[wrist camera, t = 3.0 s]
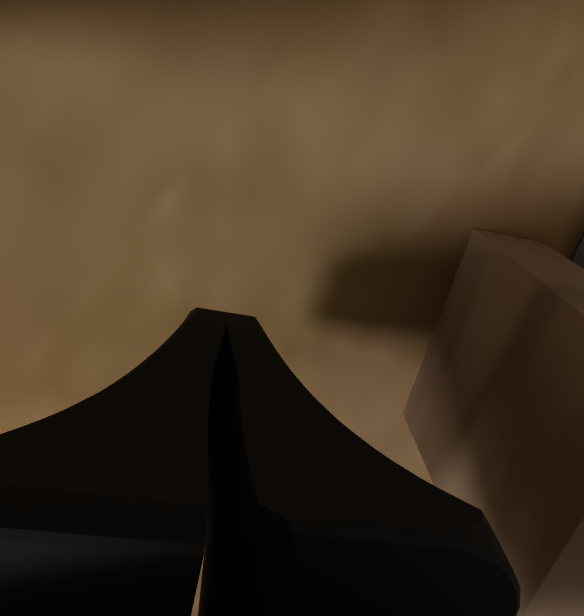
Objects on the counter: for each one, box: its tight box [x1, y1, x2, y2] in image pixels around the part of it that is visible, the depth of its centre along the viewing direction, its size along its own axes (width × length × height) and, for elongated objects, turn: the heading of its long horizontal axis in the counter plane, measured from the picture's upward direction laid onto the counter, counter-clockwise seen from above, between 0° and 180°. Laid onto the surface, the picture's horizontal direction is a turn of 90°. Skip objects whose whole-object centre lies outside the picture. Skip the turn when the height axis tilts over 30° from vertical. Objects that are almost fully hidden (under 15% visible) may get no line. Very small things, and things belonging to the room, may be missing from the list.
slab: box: [403, 228, 584, 616], centre depth 12 cm, size 6×2×7 cm, turn 168°
